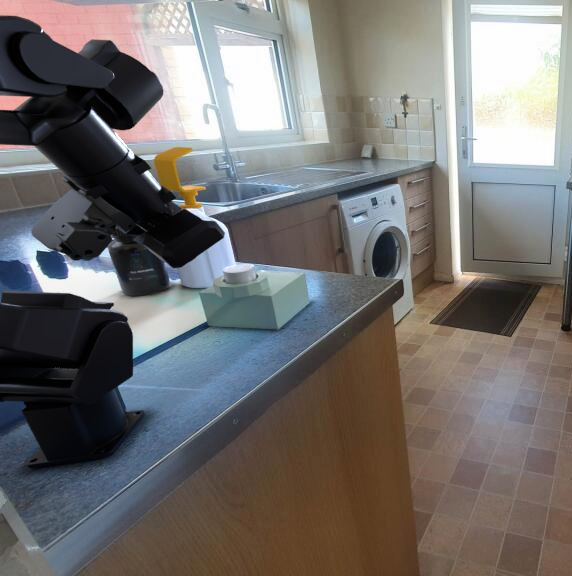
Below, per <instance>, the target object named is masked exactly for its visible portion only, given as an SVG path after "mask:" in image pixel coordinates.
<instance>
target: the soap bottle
mask: <svg viewBox="0 0 572 576" xmlns="http://www.w3.org/2000/svg"><path fill="white" fill-rule="evenodd" d="M192 152H194V149H193V148H192V147H185V146H176V147H171V148H170V149H167V150H165V151H162V152H160V153H158V154H157V155H155V156H154V159H153V163H154V167H155V170H156V174H157V177H158V181H159V184H160V185H162V186H163V187H165V188H166V189H168V190H170V191H171V192H177V194H178V197H182V198H183V201H184V203H180V204H179V206H180V207H181V208H182V209H184V208H187V209H197V210H199V211H200V212H202V213H203V214H205V215H206V213H205V208H204V206H203V203H202V202H197V200H196V196H198V195H199V193H198V191H204V190H207V188H206V186H202V185H201V186H200V185H181V181H180V177H179V174H178V170H177V165H176V164H177V160H178V159H180V158H181V157H183V156H186V155H188V154H190V153H192ZM162 186H161V187H162ZM210 218H211V219H213V220H215V221H216V222H217V223H218V225H219V226H220V227H221V228H222V230H223V231H224V232H225V235H224V238H223V239H222V240H220V241H219V242H217V243H216V244H214V245H213V246H212V247H210V248H209V249H207V250H206V251H204V252H203V253H201V254H200V255H199V256H197V257H196V258H195V259H194V260H192V261H191V262H189V263H187V264H186V265H184V266H183V267H181V268H176V270H177V273H178V277H179V280H180V283H181V284H182V285H183V286H184V287H187V288H190V289H191V288H192V289H207V288H208V287H210V286H212V285H213V282H214V280H215V279H216V278H218V277H220V276H222V275H224V274H223V269H224V268H226V267H228V266H232V265H237V262H236V258H235V254H234V251H233V246H232V242H231V238H230V234H229V233H230V232H229V230H228V228H227V226H226V225H225V224H224V223H223V222H221V221H220V220H218V219H216V218H213V217H210Z"/></svg>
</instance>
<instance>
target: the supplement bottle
mask: <svg viewBox="0 0 572 576" xmlns="http://www.w3.org/2000/svg"><path fill="white" fill-rule="evenodd" d="M111 237H112V239H114V240H112V242H111V243H110V244H109V245H108V246H107V250H108V254H109V257H110V259H111V263H112V265H113V269H114V272H115V275H116V278H117V282H118V284H119V286H120V289H121V292H122V293H123V294H124V295H127V296H133V297H134V296H146V295H153V294H157V293H160V292H163V291H165V290H167V289H168V288H169V287H170V286H171V279H170V276H169V272H168V269H167V266H166V265H167V264H166V263H165V262H163V261H162V260H161V259H159V258H158V257H157V256H156V255H154V254H153V253H152V252H151V251H150V250H149V249H146V248H144V247H143V246H142V245H140V244H139V243H137V242H136V241H135V240H133V239H134V238H136V237H138V235H127V234H125V233H123V232H122V231H120V230H119V229H118V228H116V229H115V231H114V232H113V234H112V235H111Z"/></svg>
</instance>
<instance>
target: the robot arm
mask: <svg viewBox="0 0 572 576" xmlns="http://www.w3.org/2000/svg"><path fill="white" fill-rule="evenodd" d="M164 92H165V91H164V86H163V84H162V81H161V80H160V79H159V76H157V74H156V73H155V72H154V71H152V70H150V68H148V67H147V66H146V65H145V64H143V62H142V61H140V60H138V59H136V58H135V57H133V56H131V55H129V54H127V53H125V52H122V51H121V50H120V49H119V48H118V46H117V45H116V44H115V42H114V41H113V40H111V39H94V38H93V39H90V40H89V41H87V42H86V43H85V44H84V45H83V46H82V48H81V50H79V52H76V51H75V50H73V49H71V48H69V47H67V46H65V45H63V44H61V43H59V42H57V41H56V40H54V39H53V38H52V36H50V35H49V34H48V33H46V32H45V31H44V30H43V27H42V26H41V25H40V24H38V23H36V22H35V21H33V20H32V19H29V18H25V17H23V16H18V15H8V14H7V15H6V14H0V96H3V97H23V98H24V97H26V98H27V97H28V98H27V99H26V100H25V101H23V102H22V103H21V104H20V105H18V106H17V107H16V108H14V109H0V146H25V147H34V148H35V149H36V150H38V151H39V152H40V153H41V154H42V155H43V156H44V157H45V158H46V159H47V160H48V161H49V162H51V163H52V164H53V166H55V168H56V169H58V170H59V171H60V175H61V176H62V177H61V178H60V180H62V181H63V182H64V183H65V184H66V185H67V186H68V187H69V190H68V191H67V192H66V193H65V194H64V195H63V196H62V197H60V198H58V199H57V200H56V201H54V203H53V204H52V205H51V206H50V207H49V208H48V209H47V210H46V212H45V213H43V214H42V216H41V217H40V218H39V219H38V221H36V223H35V224H34V225H33V227H32V228H31V235H32V237H33V238H35V239H36V240H37V241H38V242H39V243H41V244H42V245H43V246H45V247H46V248H47V249H48V250H52V251H55V252H58V253H61V254H64V255H65V256H67V257H68V258H70V260H72V261H75V262H76V261H85V262H89V261H92V260H93V259H96V258H99V257H100V256H101V255H102V253H103V252H104V251H105V250H106V249H108V246H109V244H110V243H111V242H113V238H112V236H111V235H112V234H113V232H114V231H115V229H116V228H118V229H119V230H120V231H122V232H123V233H125V234H127V235H138V237H136V238H134V239H133V240H135V241H136V242H137V243H139V244H140V245H142V246H143V247H144V248H146V249H149V250H150V251H151V252H152V253H153V254H154V255H156V256H157V257H158V258H159V259H161V260H162V261H163V262H165V265H168V266H169V267H170V268H172V269H177V268H181V267H183V266H184V265H186V264H187V263H189V262H191V261H192V260H194V259H195V258H196V257H197V256H199V255H200V254H201V253H203V252H204V251H206V250H207V249H209V248H210V247H212V246H213V245H214V244H216V243H217V242H219V241H220V240H222V239H223V238H224V235H225V232H224V231H223V230H222V228H221V227H220V226H219V225H218V223H217V222H216V221H215V220H213V219H214V218H213V219H211V218H212V217H211V216H208V215H207V214H206V213H205V214H203V213H202V212H200V211H199V210H197V209H187V208H184V209H182V208H181V207H180V205H178V204H176V202H174V201H175V200H176V199H177V196H175V194H174V193H173V191H170V190H168V189H166V188H165V187H163V186H162V185H160V182H158V181H157V179H156V178H155V177H154V176H153V175H152V173H151V172H150V170H151V169H152V166H151V165H150V164H149V163H148V162H147V161H146V160H145V159H143V158H142V157H140V156H139V155H137V154H135V153H134V152H133V151H132V150H131V149H130V148H129V147H128V146H127V144H125V142H124V141H123V140H122V139H121V138H120V136H119V135H118V134H117V133H116V131H129V130H132V129H133V128H134V127H136V125H137V124H138V123H139V122H140V121H141V120H142V119H143V118H145V116H146V115H147V114H148V113H149V112H150V111H151V110H152V109H153V108H154V107H155V106H156V104H158V102H159V101H161V99H162V98H163V96H164ZM114 130H116V131H114ZM161 186H162V187H161ZM0 297H1V298H0V403H5V402H17V403H18V402H20V403H21V402H22V403H23V405H24V408H23V409H22V410H21V411H20V413H21V415H22V416H23V418H24V420H25V422H26V424H27V425H28V427H29V429H30V431H31V433H32V436H33V437H34V439H35V441H36V442H37V443H36V444H38V446H39V450H37V451H36V452H35V453H34V454H33V455H32V456H31V457H30V458H29V459H28V460H27V461H26V462H25V465H26V466H27V468H28V469H34V468H35V469H36V468H41V467H49V466H56V465H63V464H71V463H76V462H83V461H90V460H91V461H92V460H98V459H105V458H108V457H110V456H112V455H114V453H115V452H116V451H117V450H118V449H119V448H120V446H122V444H123V443H124V441H125V440H126V439H127V438H128V436H129V435H130V434H131V433H132V432H133V431H134V429H135V428H136V427H137V425H138V424H139V423H141V421H142V420H143V419H144V417H145V415H146V413H145V410H144V409H139V410H129V411H127V407H126V404H125V401H124V399H123V397H122V394H121V392H120V389H119V387H120V386H121V385H122V384H123V383H125V382H127V381H128V380H130V379H131V378H132V377H133V376H134V333H133V331H132V328H131V326H130V324H129V322H128V321H129V318H128V316H126V314H124V313H123V312H121V311H118V310H115V309H112V308H113V307H114V306H115V303H114V302H111V301H93V300H90V299H87V298H85V297H83V296H80V295H77V294H74V293H71V292H44V291H18V290H17V291H15V290H2V292H1V296H0Z"/></svg>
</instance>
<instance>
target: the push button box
mask: <svg viewBox="0 0 572 576" xmlns="http://www.w3.org/2000/svg"><path fill="white" fill-rule="evenodd" d="M255 273H256V277H257V279H255V280H253V281H249V282H246V283H240V284H227V283H226V282H225V278H224V275H222V276H220V277H218V278H216V279H215V280H214V282H213V285H212V286H210V287H208V288H204V289H202V290H201V291H199V292H198V294H199V298H200V302H201V305H202V308H203V312H204V315H205V319H206V323H207V326H208V327H219V328H241V329H260V330H261V329H263V330H280V329H281V328H282V327H283V326H284V325H286V324H287V323H288V322H289V321H290V320H291V319H293V318H294V317H295V316H296V315H297V314H298V313H300V312H301V311H302V310H303V309H304V308H305V307H307V306H308V305H309V304H310V303H311V301H310V295H309V289H308V282H307V277H306V272H299V271H298V272H296V271H278V270H256V269H255Z"/></svg>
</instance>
